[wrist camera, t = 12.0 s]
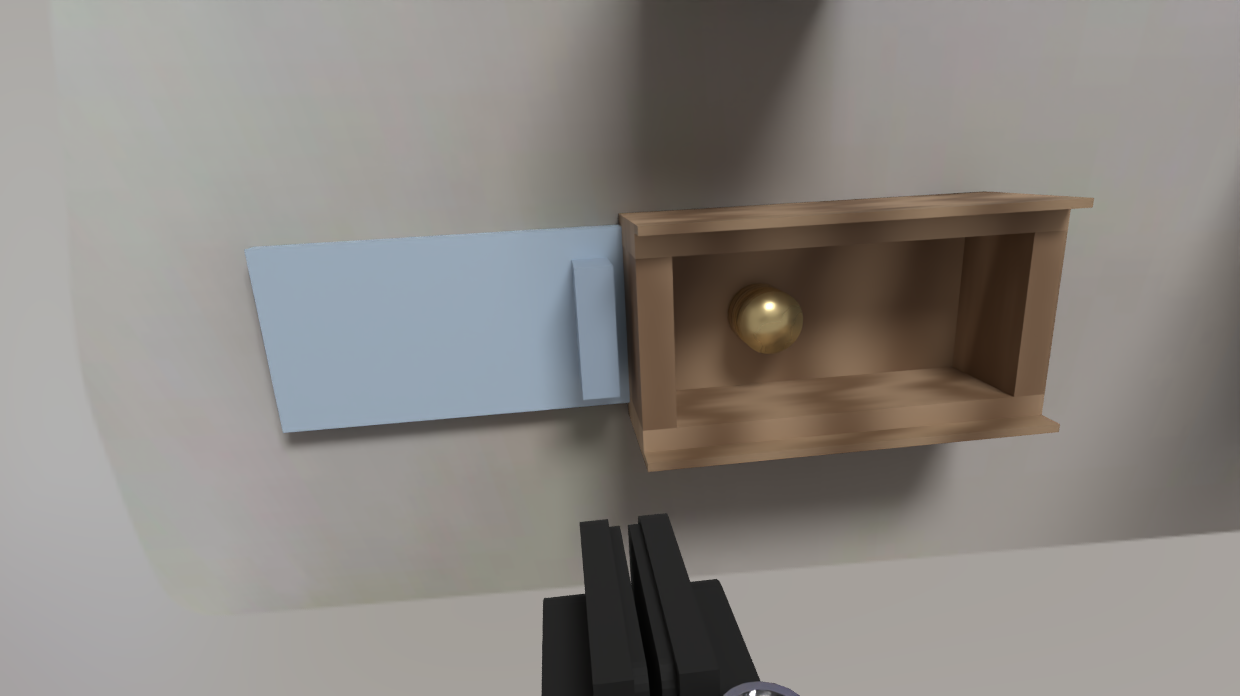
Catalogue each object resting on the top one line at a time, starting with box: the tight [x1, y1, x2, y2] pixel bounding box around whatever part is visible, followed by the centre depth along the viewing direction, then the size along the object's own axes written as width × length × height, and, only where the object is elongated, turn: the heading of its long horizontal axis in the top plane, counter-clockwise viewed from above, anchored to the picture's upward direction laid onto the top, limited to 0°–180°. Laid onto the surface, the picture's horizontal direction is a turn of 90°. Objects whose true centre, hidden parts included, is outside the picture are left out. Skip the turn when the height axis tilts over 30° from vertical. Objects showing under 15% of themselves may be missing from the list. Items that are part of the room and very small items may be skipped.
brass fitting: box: [727, 283, 803, 354], centre depth 33 cm, size 3×3×2 cm
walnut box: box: [619, 192, 1094, 472], centre depth 32 cm, size 20×11×7 cm, turn 93°
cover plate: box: [244, 225, 630, 433], centre depth 32 cm, size 18×9×5 cm, turn 93°
